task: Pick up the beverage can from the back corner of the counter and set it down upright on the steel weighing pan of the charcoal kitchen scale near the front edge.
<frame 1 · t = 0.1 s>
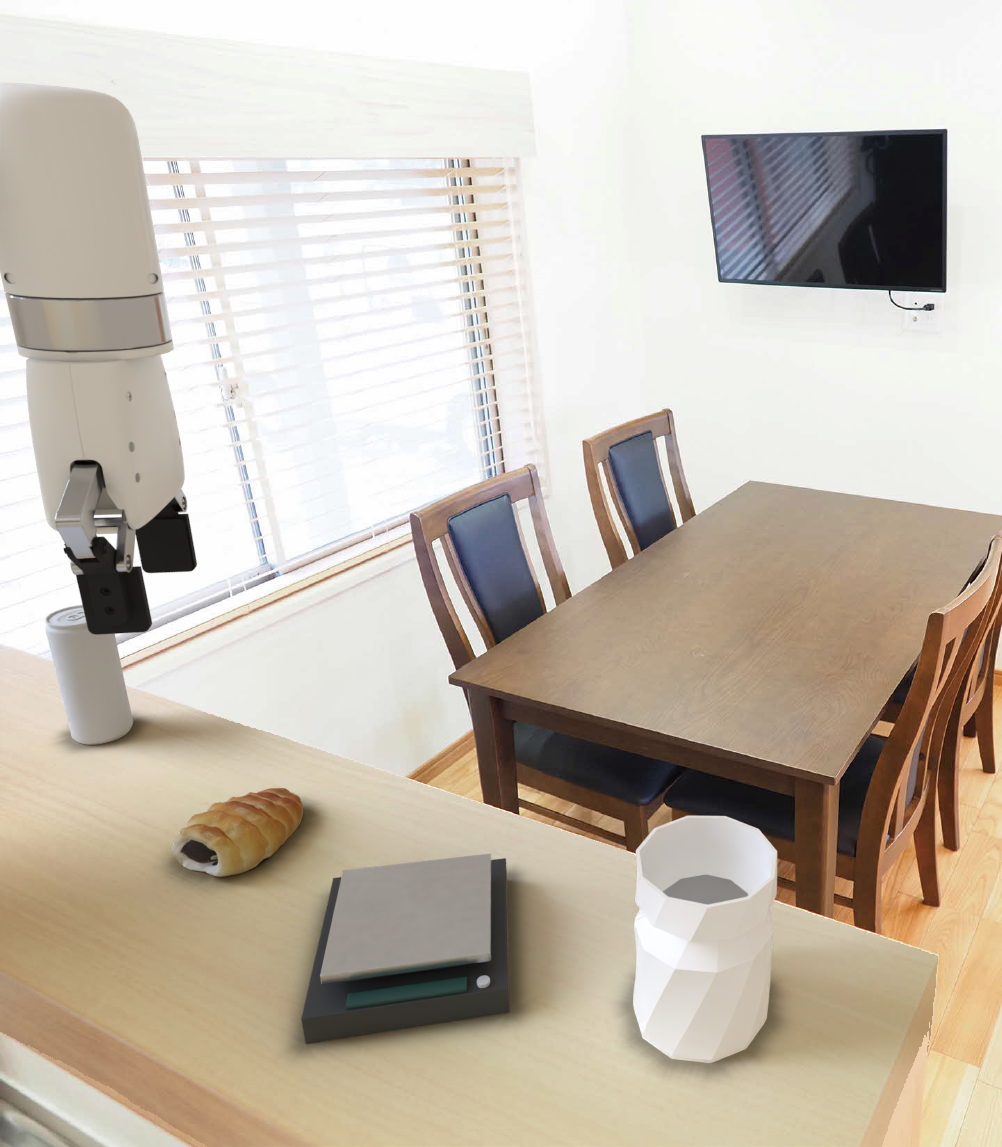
hand: (147, 599, 62), 23 cm above the worktop, tool pointing down, fingers open, 9 cm apart
beverage can: (104, 735, 89), on the worktop
scale: (417, 954, 66), on the worktop
pastry: (241, 848, 76), on the worktop
vase: (700, 1011, 63), on the worktop
scale pan: (413, 913, 65), point 4 cm above the worktop, slide at 0.0 cm
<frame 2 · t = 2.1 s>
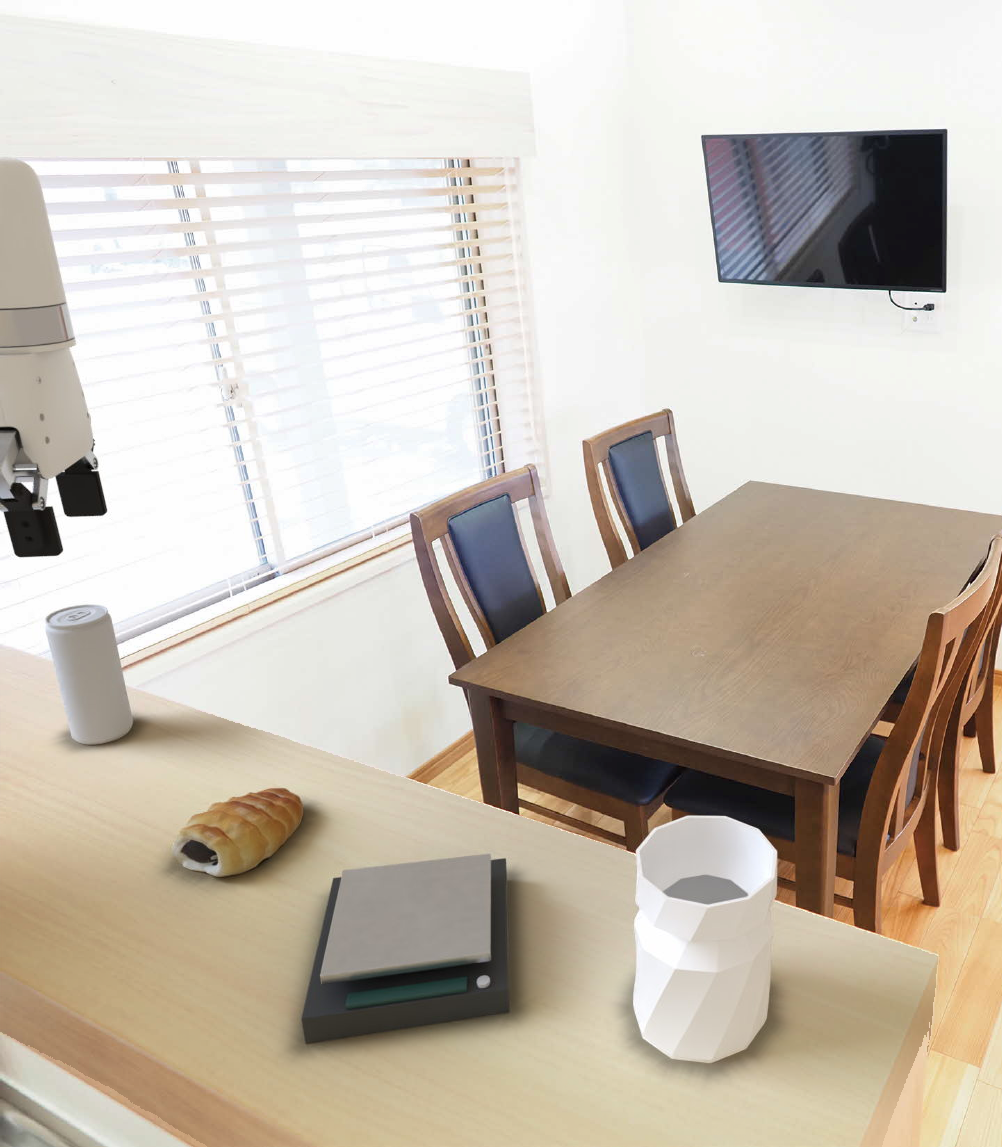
hand: (64, 534, 82), 19 cm above the worktop, tool pointing down, fingers open, 9 cm apart
nothing on the worktop moved.
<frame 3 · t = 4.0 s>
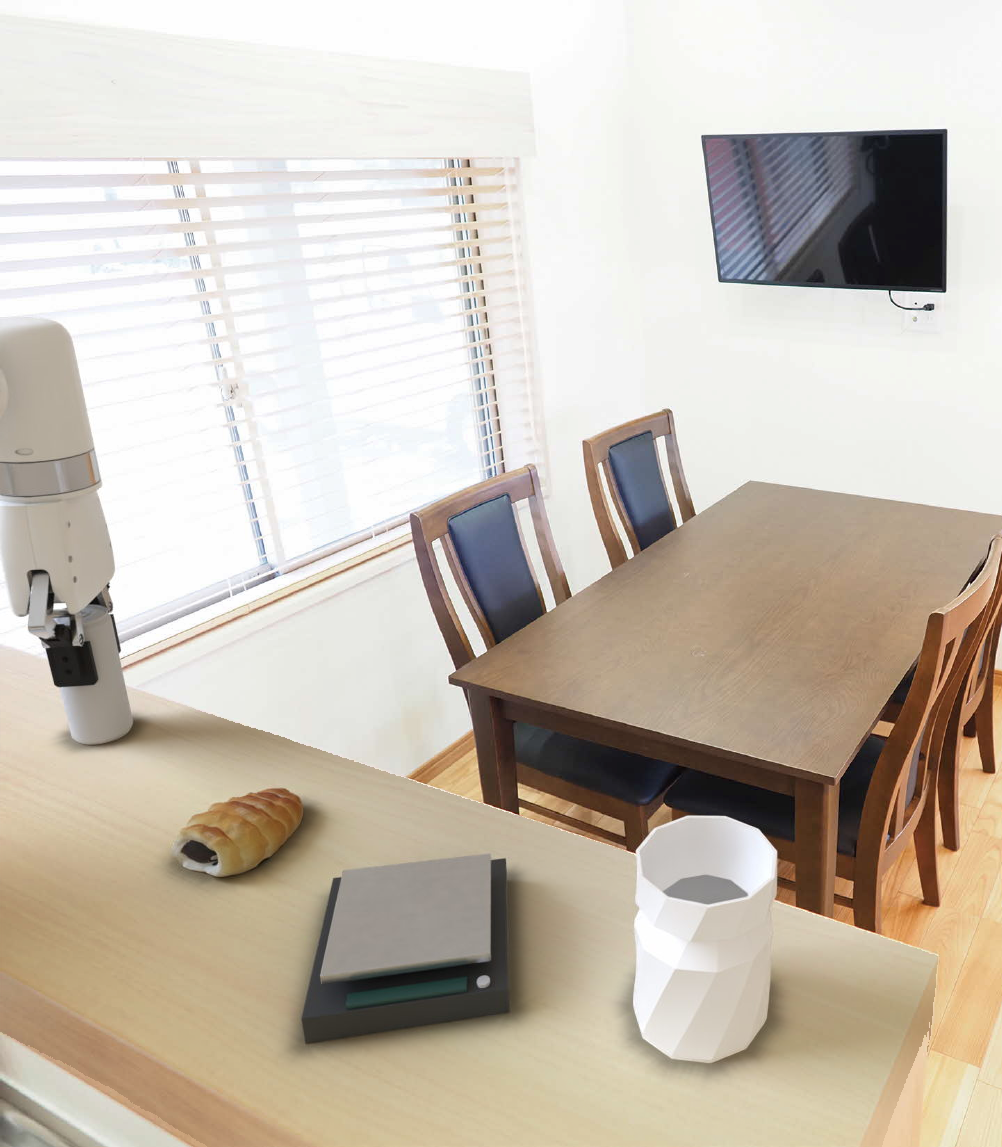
hand: (89, 667, 87), 7 cm above the worktop, tool pointing down, fingers closed on beverage can, 4 cm apart
beverage can: (104, 735, 89), on the worktop, touching gripper
everything else where it was.
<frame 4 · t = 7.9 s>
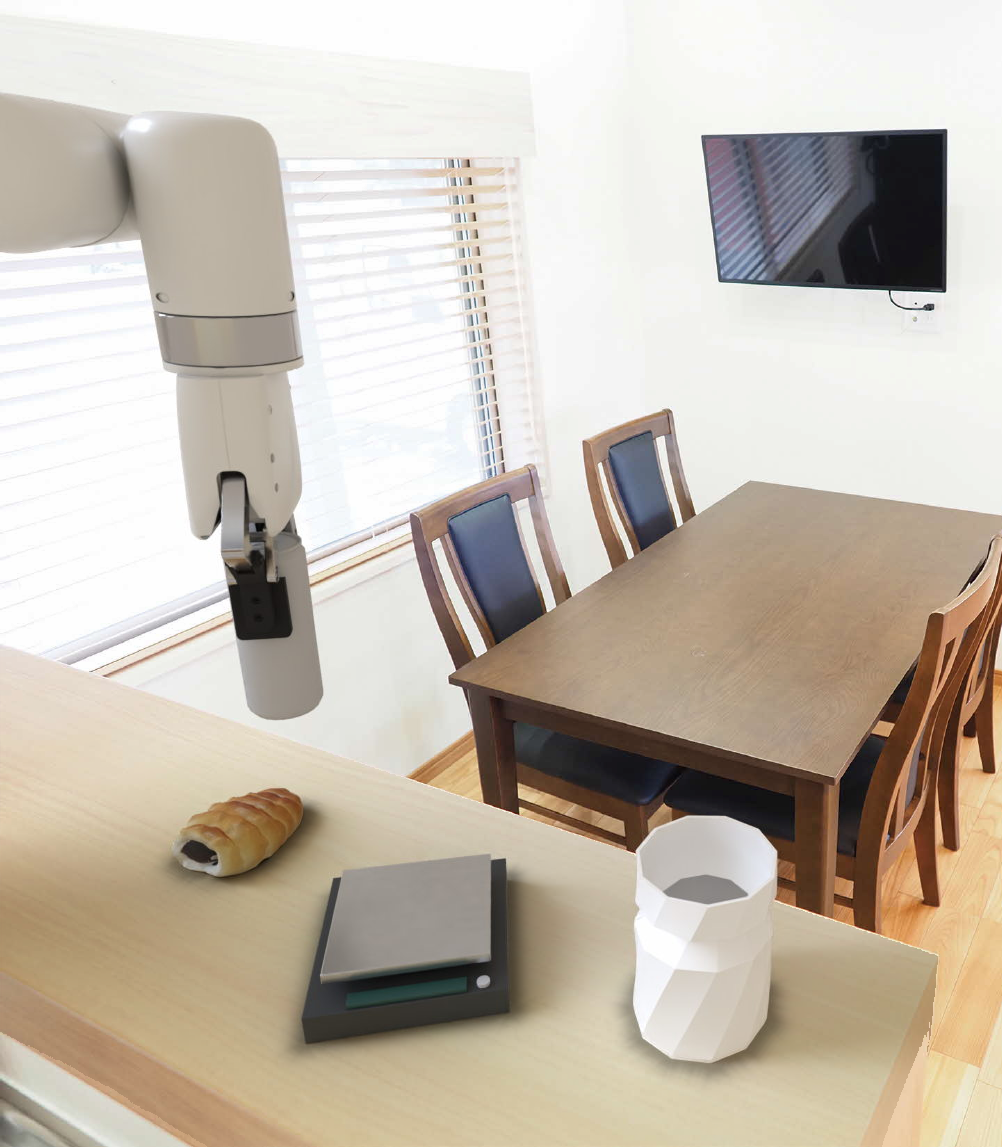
hand: (273, 616, 65), 22 cm above the worktop, tool pointing down, fingers closed on beverage can, 4 cm apart
beverage can: (288, 708, 67), point 15 cm above the worktop, touching gripper
everything else where it was.
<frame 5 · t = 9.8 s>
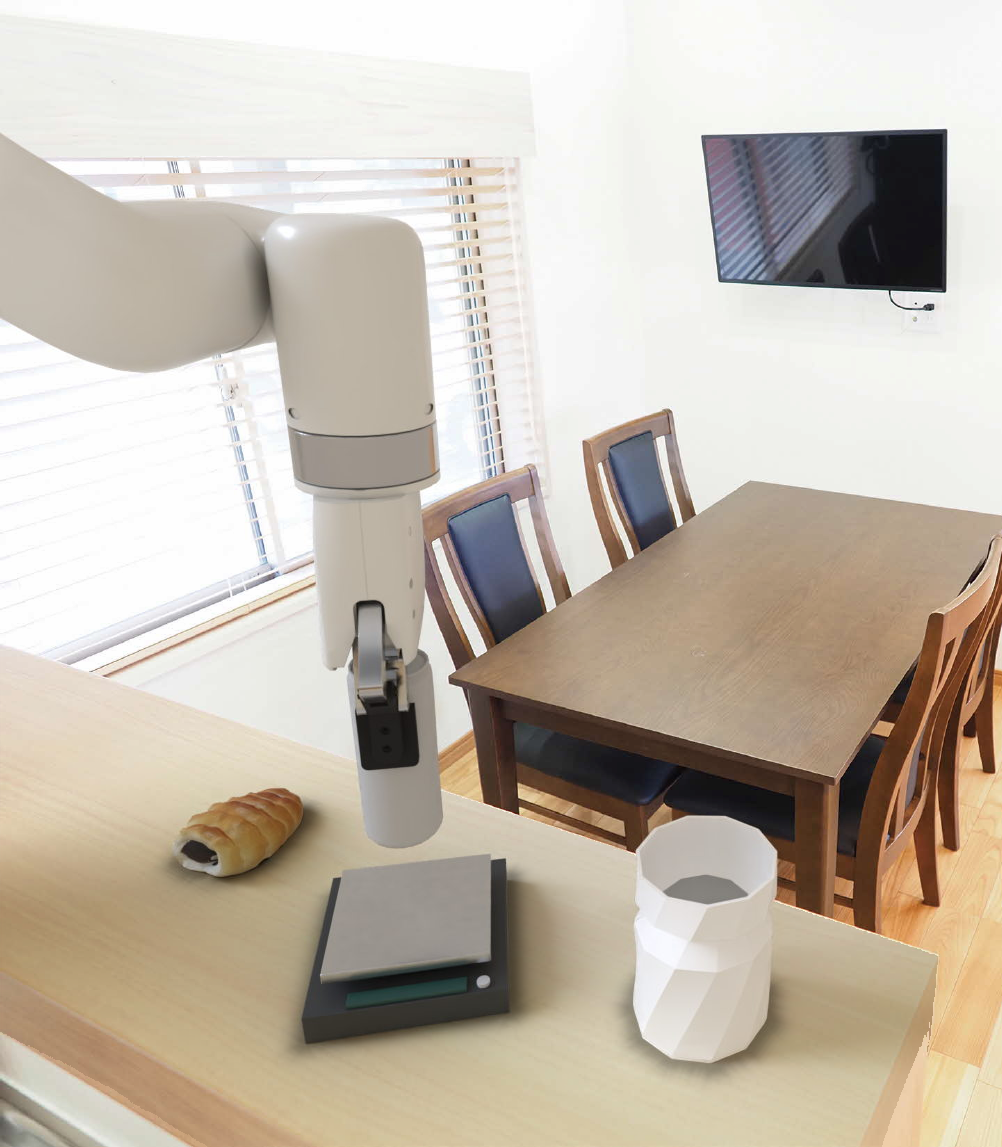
hand: (395, 738, 60), 17 cm above the worktop, tool pointing down, fingers closed on beverage can, 4 cm apart
beverage can: (405, 831, 62), point 10 cm above the worktop, touching gripper
everything else where it was.
when the fingers open (11 cm above the worktop, at t = 11.7 s): beverage can stays where it is, resting on scale pan.
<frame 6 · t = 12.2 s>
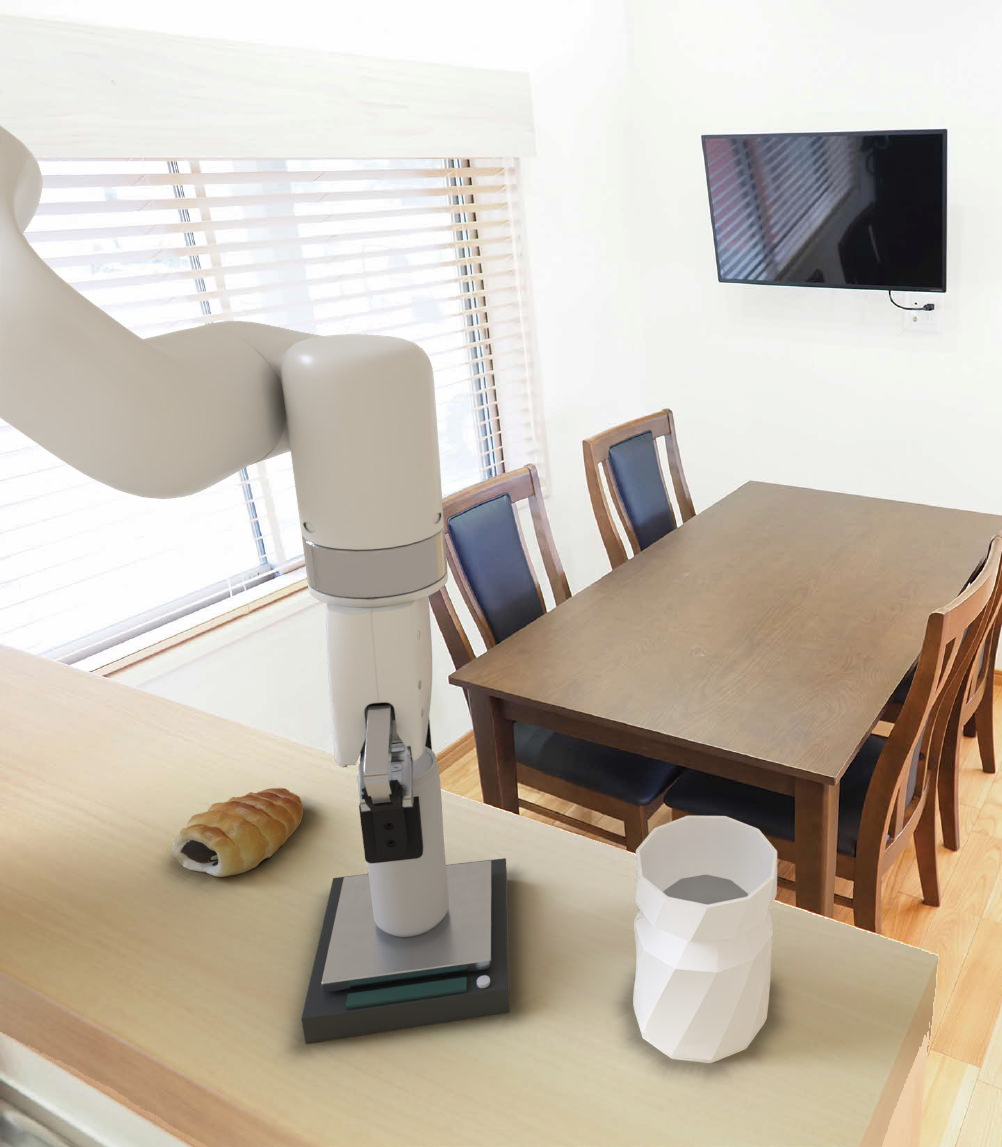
hand: (402, 809, 62), 12 cm above the worktop, tool pointing down, fingers open, 9 cm apart
beverage can: (413, 918, 65), point 3 cm above the worktop, touching scale pan
scale pan: (414, 920, 65), point 3 cm above the worktop, slide at -0.6 cm, touching beverage can
everything else where it was.
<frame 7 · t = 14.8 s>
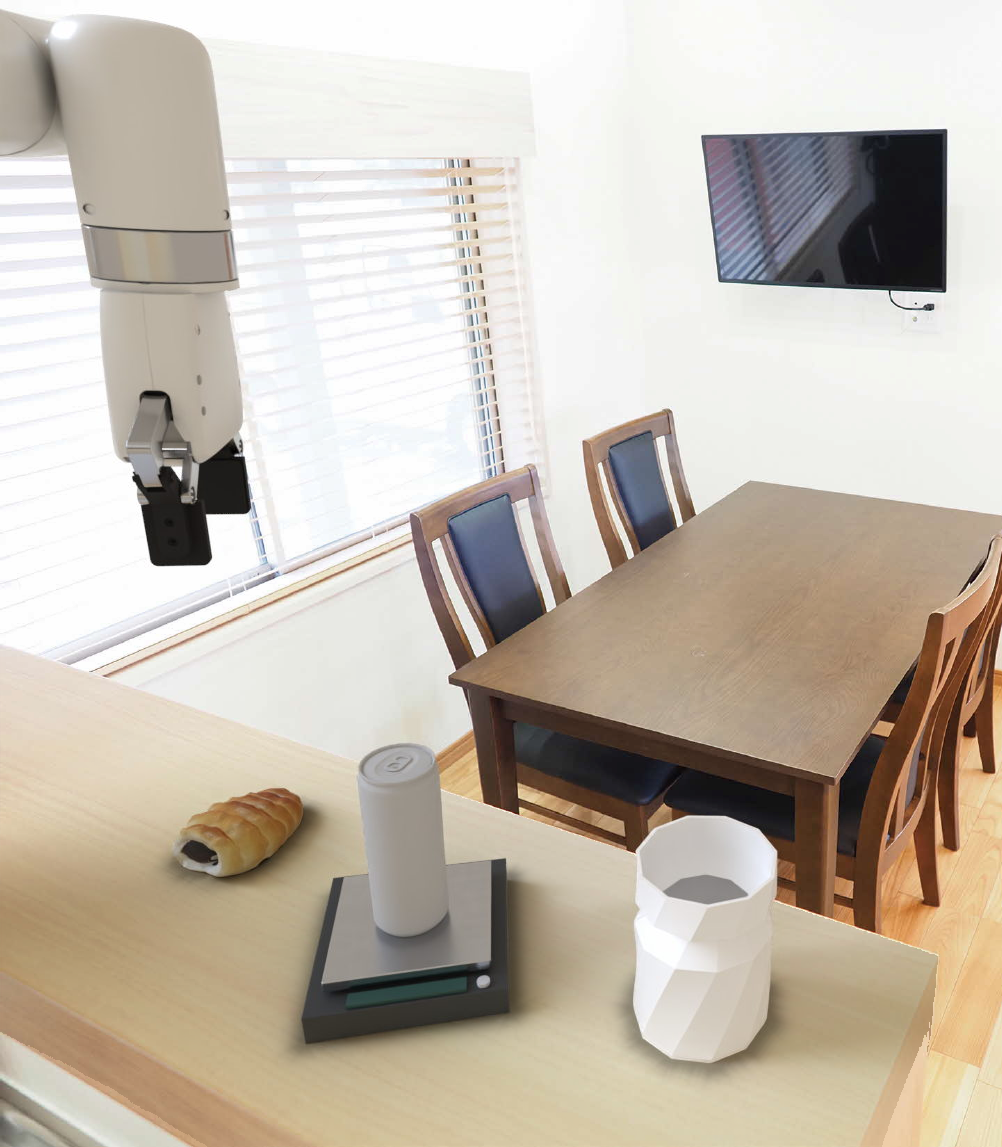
hand: (205, 536, 63), 27 cm above the worktop, tool pointing down, fingers open, 9 cm apart
nothing on the worktop moved.
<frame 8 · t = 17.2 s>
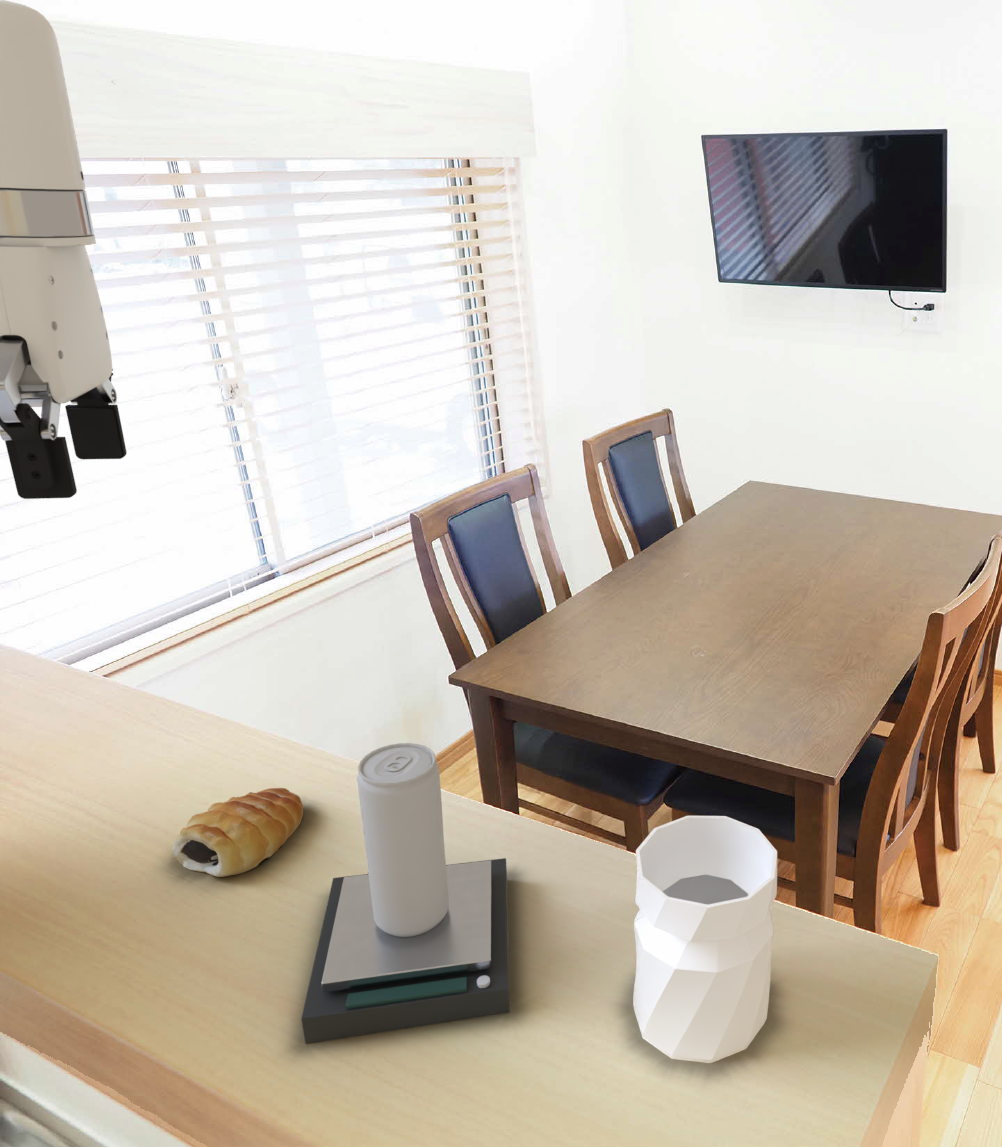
hand: (77, 476, 68), 28 cm above the worktop, tool pointing down, fingers open, 9 cm apart
nothing on the worktop moved.
at the end: beverage can 0.0 cm off-centre on the scale pan, point 3.7 cm above the scale pan's base; beverage can tilted 0°; the gripper is holding nothing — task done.
